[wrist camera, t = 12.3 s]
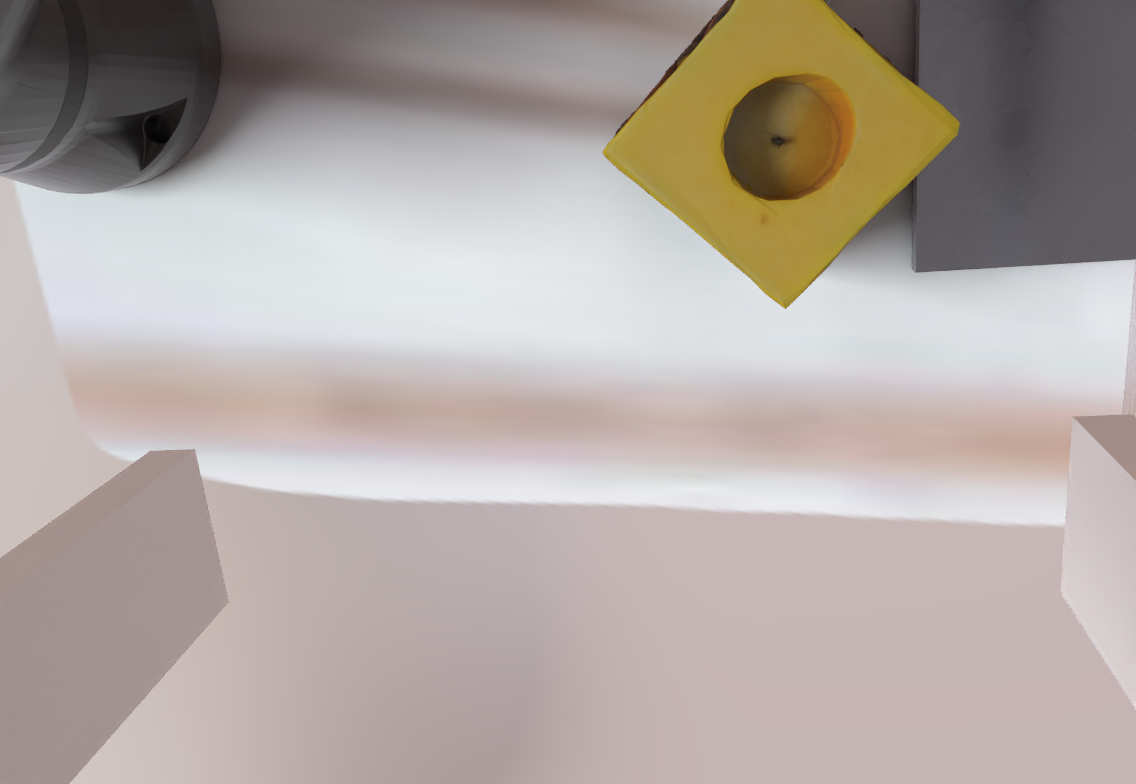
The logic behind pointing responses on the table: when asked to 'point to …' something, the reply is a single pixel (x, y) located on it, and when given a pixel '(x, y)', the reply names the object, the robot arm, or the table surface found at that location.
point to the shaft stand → (1028, 133)
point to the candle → (780, 138)
